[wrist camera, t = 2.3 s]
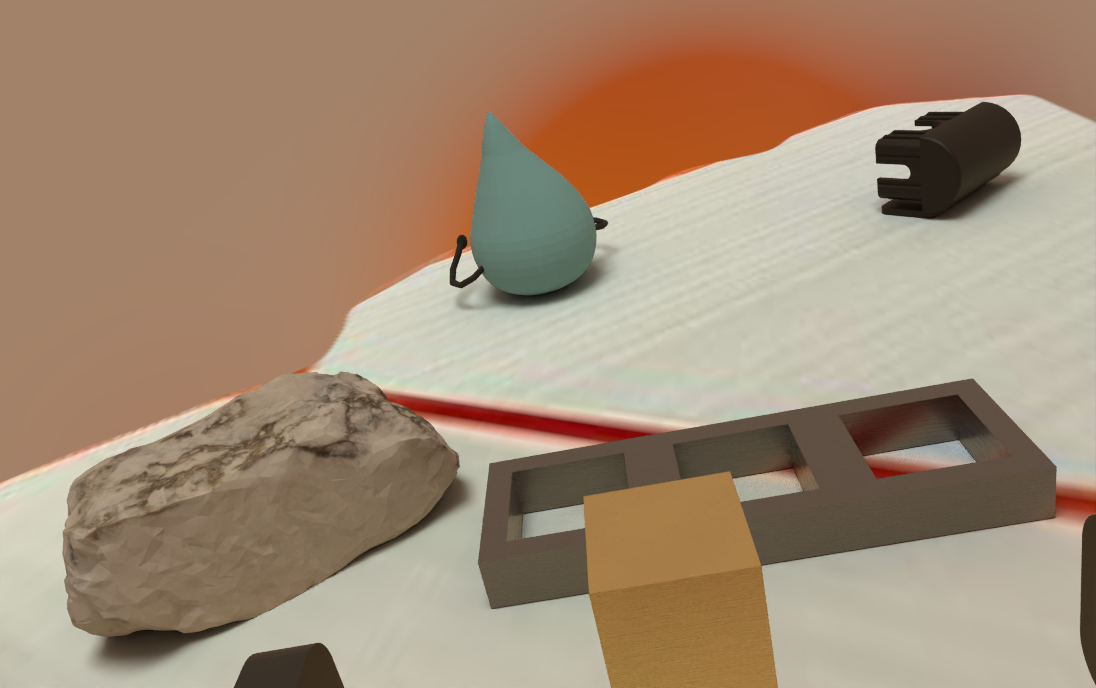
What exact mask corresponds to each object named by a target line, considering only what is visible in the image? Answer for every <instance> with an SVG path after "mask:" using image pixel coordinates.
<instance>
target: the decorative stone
mask: <svg viewBox="0 0 1096 688" xmlns="http://www.w3.org/2000/svg"><path fill="white" fill-rule="evenodd" d="M459 467H460V465H459V455H458V453H457V452H455V451H454V450H453V449H451V448H450V447H449V446H448V445H447V443H446V442H445V440H444V439H443V437H442V436H441V435H440V434H439V433H438V432H437V431H436V430H435V429H434V427H433V426H432V425H431V424H430V423H429V422H428V421H426V420H425V419H424V418H422V417H421V416H420V415H416V414H415V413H414V412H412V411H411V410H410V409H408V408H407V407H404V406H403V405H399V404H395V403H392V402H390V401H388V399H387V397H386V395H385V394H384V393H383V392H382V391H381V389H380V388H379V387H378V386H376V385H375V384H373V383H372V382H370V381H369V380H367V379H365V378H363V377H361V376H360V375H358V374H351V373H348V372H339V373H338V374H336V375H328V374H319V373H317V372H311V373H299V374H287V375H282V376H279V377H277V378H275V379H273V380H271V381H270V382H268V383H266V384H265V385H263V386H261V387H260V388H258V389H257V390H254V391H250V392H247V393H244V394H242V395H239V396H236V397H235V398H234V399H233V400H231V401H230V402H228V403H227V404H225V405H224V406H222V407H220V408H219V409H217V410H216V411H214V412H213V413H211V414H209V415H208V416H206V417H204V418H202V419H201V420H199V421H197V422H195V423H193V424H191V425H189V426H187V427H184V428H182V429H180V430H178V431H176V432H174V433H172V434H170V435H168V436H166V437H164V438H162V439H160V440H157V441H155V442H153V443H150V444H147V445H143V446H139V447H135V448H132V449H129V450H127V451H126V452H124V453H121V454H118V455H116V456H113V457H110V458H107V459H105V460H103V461H102V462H100V463H98V464H97V465H95V466H93V467H92V468H90V469H89V470H87V471H85V472H84V473H83V474H82V475H80V476H79V477H78V478H77V479H75V480H74V482H73V483H72V485H71V487H70V491H69V494H68V498H67V504H68V518H67V520H66V522H65V529H64V531H63V558H64V562H65V567H66V573H67V576H66V578H65V580H64V581H65V588H66V591H67V593H68V595H69V596H68V601H67V609H68V612H69V615H70V618H71V621H72V624H73V625H74V626H75V627H77V628H79V629H82V630H84V631H86V632H88V633H90V634H93V635H99V636H106V637H111V636H124V635H128V634H130V633H132V632H135V631H139V630H147V629H149V630H162V631H165V630H178V631H180V632H182V633H191V632H199V631H203V630H205V629H208V628H212V627H218V626H221V625H224V624H227V623H230V622H234V621H241V620H248V619H251V618H254V617H256V616H258V615H260V614H262V613H265V612H267V611H269V610H271V609H273V608H275V607H277V606H279V605H280V604H282V603H284V602H286V601H288V600H290V599H292V598H294V597H296V596H298V595H300V594H302V593H303V592H305V591H306V590H307V589H308V588H309V587H311V586H313V585H316V584H319V583H320V582H322V581H323V580H325V579H326V578H328V577H330V576H331V575H333V574H334V573H336V572H338V571H339V570H341V569H342V568H343V567H345V566H346V565H347V564H349V563H350V562H351V561H352V560H354V559H355V558H356V557H358V556H359V555H361V554H362V553H364V552H365V551H367V550H369V549H371V548H372V547H375V546H378V545H380V544H383V543H385V542H387V541H389V540H391V539H394V538H396V537H397V536H399V535H400V534H402V533H404V532H405V531H406V530H407V529H409V528H410V527H411V526H413V525H415V524H417V523H418V522H419V521H420V520H421V519H423V518H424V517H425V516H426V515H427V514H428V513H429V512H430V511H431V510H432V509H433V507H434V506H435V504H436V503H437V502H438V501H439V500H440V499H441V497H442V496H443V494H444V492H445V490H446V489H447V488H448V487H449V486H450V484H451V483H452V481H453V479H454V477H455V476H456V474H457V470H458V468H459Z"/></svg>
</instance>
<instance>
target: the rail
mask: <svg viewBox="0 0 1096 688" xmlns="http://www.w3.org/2000/svg"><path fill="white" fill-rule="evenodd" d="M957 439H959V440H960V442H961V443H962V444H963V445H964V447H965V448H966V449H967V450H968V452H969V453H970V454H971V455H972V457H973V458H974V459H975V460H976V461H977V462H976V463H970V464H964V465H958V466H952V467H946V468H940V469H934V470H928V471H922V472H916V473H910V474H904V475H899V476H893V477H887V478H881V479H876V478H875V476H874V474H873V472H872V471H871V469H870V467H869V466H868V464H867V462H866V461H865V459H864V457H863V456H864V455H870V454H875V453H881V452H887V451H893V450H899V449H905V448H911V447H916V446H922V445H928V444H934V443H940V442H946V441H952V440H957ZM788 468H793V469H794V471H795V473H796V476H797V478H798V480H799V482H800V484H801V487H802V489H803V492H797V493H792V494H786V495H780V496H774V497H768V498H762V499H756V500H750V501H744V502H740V503H741V506H742V509H743V512H744V515H745V518H746V521H747V524H748V527H749V530H750V533H751V536H752V539H753V542H754V545H755V548H756V551H757V554H758V557H759V560H760V563H761V565H764V564H770V563H776V562H783V561H789V560H795V559H801V558H807V557H814V556H820V555H826V554H832V553H838V552H844V551H851V550H857V549H863V548H869V547H875V546H881V545H888V544H894V543H900V542H906V541H912V540H919V539H925V538H931V537H937V536H943V535H949V534H956V533H962V532H968V531H974V530H980V529H986V528H993V527H999V526H1005V525H1011V524H1017V523H1024V522H1030V521H1036V520H1042V519H1048V518H1054V517H1055V502H1056V466H1055V465H1054V464H1053V463H1052V462H1051V461H1050V459H1049V458H1048V457H1047V456H1046V455H1045V454H1044V453H1043V452H1042V451H1041V450H1040V449H1039V448H1038V447H1037V446H1036V445H1035V444H1034V443H1033V442H1032V440H1031V439H1030V438H1029V437H1028V436H1027V435H1026V434H1025V433H1024V432H1023V431H1022V430H1021V429H1020V428H1019V427H1018V426H1017V425H1016V424H1015V423H1014V422H1013V420H1012V419H1011V418H1010V417H1009V416H1008V415H1007V414H1006V413H1005V412H1004V411H1003V410H1002V409H1001V408H1000V407H999V406H998V405H997V404H996V403H995V401H994V400H993V399H992V398H991V397H990V396H989V395H988V394H987V393H986V392H985V391H984V390H983V389H982V388H981V387H980V386H979V385H978V384H977V382H976V381H975V380H974V379H967V380H961V381H955V382H950V383H944V384H938V385H933V386H927V387H921V388H916V389H910V390H904V391H899V392H893V393H887V394H882V395H876V396H870V397H865V398H859V399H853V400H848V401H842V402H836V403H831V404H825V405H819V406H814V407H808V408H802V409H796V410H791V411H785V412H779V413H774V414H768V415H762V416H757V417H751V418H745V419H740V420H734V421H728V422H723V423H717V424H711V425H706V426H700V427H694V428H689V429H683V430H677V431H672V432H666V433H660V434H655V435H649V436H643V437H637V438H632V439H626V440H620V441H615V442H609V443H603V444H598V445H592V446H586V447H581V448H575V449H569V450H564V451H558V452H552V453H547V454H541V455H535V456H530V457H524V458H518V459H513V460H507V461H501V462H496V463H490V465H489V474H488V482H487V491H486V499H485V508H484V517H483V525H482V534H481V542H480V551H479V559H478V565H479V568H480V572H481V575H482V578H483V582H484V585H485V589H486V592H487V595H488V599H489V602H490V606H491V609H492V608H499V607H505V606H511V605H517V604H523V603H529V602H536V601H542V600H548V599H554V598H560V597H566V596H573V595H579V594H585V593H589V585H588V567H587V549H586V532H585V528H583V529H578V530H572V531H566V532H560V533H554V534H548V535H542V536H536V537H530V538H524V539H521V537H522V517H523V514H524V513H530V512H536V511H541V510H547V509H553V508H559V507H565V506H571V505H577V504H582V503H584V497H583V496H589V495H595V494H601V493H607V492H612V491H618V490H624V489H630V488H636V487H642V486H647V485H653V484H659V483H665V482H671V481H677V480H682V479H688V478H694V477H700V476H706V475H712V474H717V473H723V472H729V471H730V473H731V476H732V478H735V477H741V476H747V475H752V474H758V473H764V472H770V471H776V470H782V469H788Z"/></svg>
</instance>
